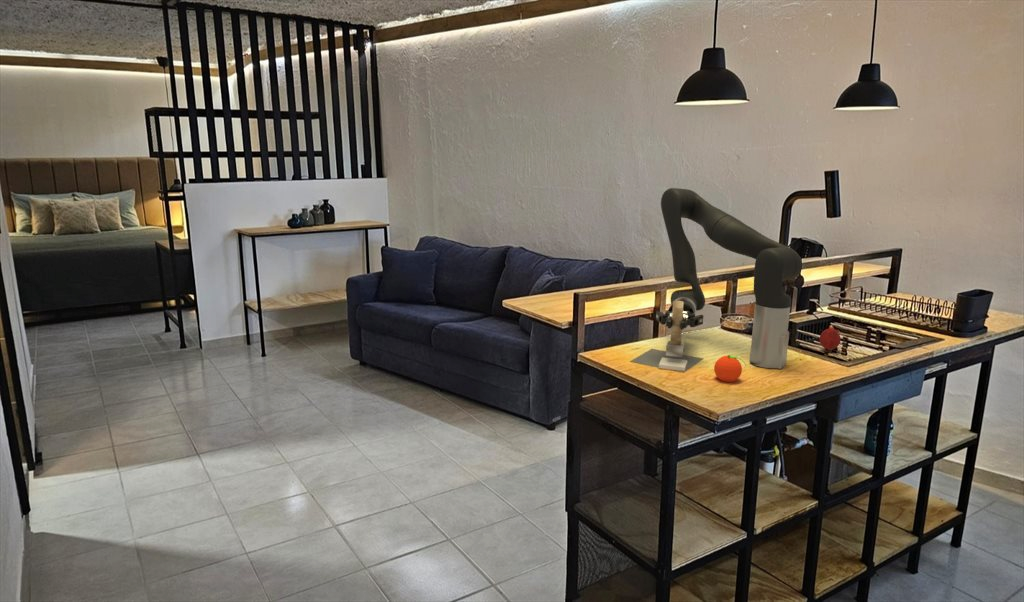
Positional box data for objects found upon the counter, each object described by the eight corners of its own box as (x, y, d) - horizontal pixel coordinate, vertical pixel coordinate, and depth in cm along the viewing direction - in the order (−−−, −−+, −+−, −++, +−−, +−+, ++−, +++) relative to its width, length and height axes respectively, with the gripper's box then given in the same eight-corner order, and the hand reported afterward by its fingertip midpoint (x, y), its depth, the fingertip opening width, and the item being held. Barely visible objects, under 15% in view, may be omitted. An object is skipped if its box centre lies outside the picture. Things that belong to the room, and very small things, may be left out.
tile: (687, 360, 187) (685, 367, 180) (687, 364, 187) (684, 371, 181) (662, 357, 189) (658, 364, 183) (661, 361, 189) (658, 368, 183)
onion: (842, 354, 201) (845, 328, 199) (823, 353, 201) (826, 327, 200) (833, 348, 207) (836, 323, 205) (815, 348, 207) (818, 323, 205)
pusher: (683, 352, 188) (687, 300, 184) (682, 357, 183) (685, 304, 180) (667, 351, 189) (671, 299, 186) (665, 355, 185) (669, 302, 182)
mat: (703, 360, 193) (703, 358, 193) (683, 374, 180) (683, 372, 180) (651, 350, 202) (651, 348, 201) (629, 363, 189) (629, 361, 189)
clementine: (740, 377, 179) (742, 352, 177) (748, 386, 172) (751, 360, 170) (710, 377, 179) (712, 351, 177) (717, 385, 172) (719, 359, 170)
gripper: (659, 297, 199) (650, 309, 183) (707, 301, 194) (703, 314, 178) (657, 321, 200) (649, 336, 185) (705, 326, 196) (701, 341, 180)
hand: (675, 325), depth 182 cm, fingers closed on pusher, 2 cm apart
